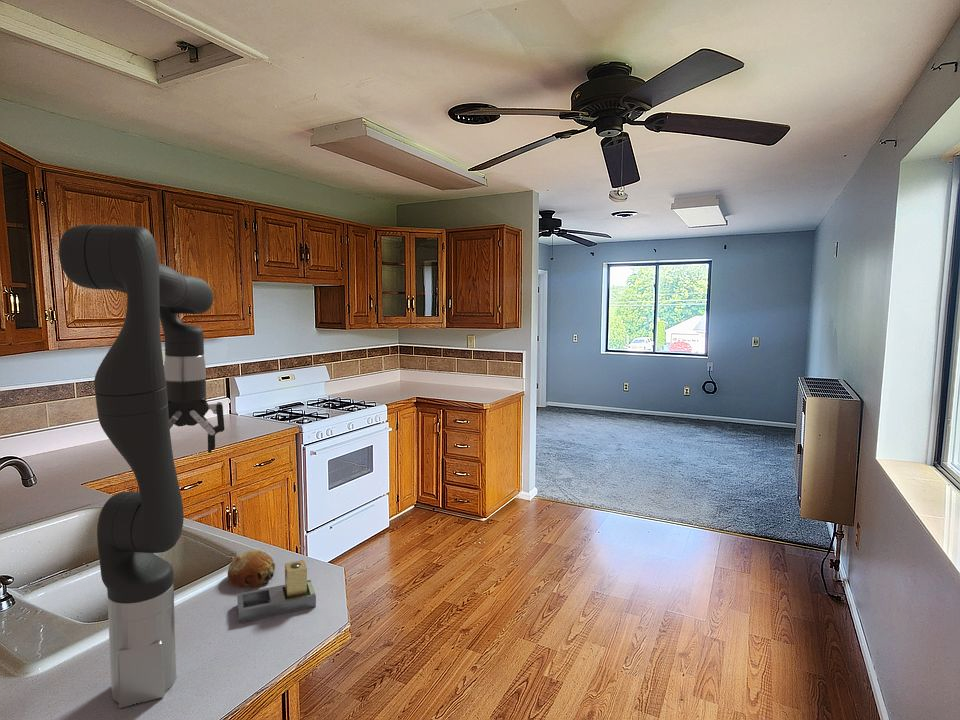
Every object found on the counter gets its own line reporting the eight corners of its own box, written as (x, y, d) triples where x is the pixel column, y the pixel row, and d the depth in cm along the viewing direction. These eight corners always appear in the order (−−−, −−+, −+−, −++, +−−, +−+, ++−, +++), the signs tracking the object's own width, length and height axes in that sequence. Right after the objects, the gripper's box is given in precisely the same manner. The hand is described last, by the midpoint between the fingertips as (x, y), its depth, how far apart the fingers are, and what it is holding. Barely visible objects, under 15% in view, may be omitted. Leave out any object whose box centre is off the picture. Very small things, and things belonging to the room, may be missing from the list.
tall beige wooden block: (306, 603, 116) (307, 567, 115) (287, 607, 114) (287, 571, 113) (304, 594, 119) (304, 559, 118) (284, 597, 118) (284, 562, 117)
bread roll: (265, 579, 132) (258, 546, 134) (286, 575, 126) (278, 541, 127) (225, 595, 125) (217, 560, 126) (245, 592, 118) (237, 556, 120)
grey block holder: (315, 606, 115) (315, 595, 115) (239, 623, 109) (238, 611, 108) (310, 590, 121) (310, 579, 121) (237, 604, 115) (237, 593, 114)
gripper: (142, 380, 104) (145, 462, 106) (224, 378, 111) (225, 455, 113) (146, 375, 111) (149, 451, 113) (223, 373, 117) (224, 445, 119)
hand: (187, 453), depth 113 cm, fingers open, 8 cm apart
